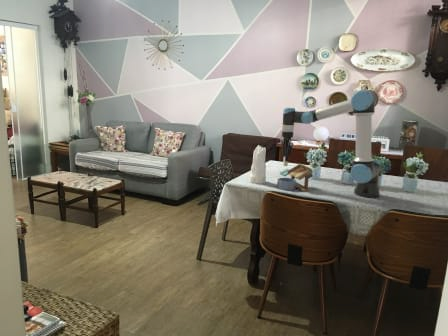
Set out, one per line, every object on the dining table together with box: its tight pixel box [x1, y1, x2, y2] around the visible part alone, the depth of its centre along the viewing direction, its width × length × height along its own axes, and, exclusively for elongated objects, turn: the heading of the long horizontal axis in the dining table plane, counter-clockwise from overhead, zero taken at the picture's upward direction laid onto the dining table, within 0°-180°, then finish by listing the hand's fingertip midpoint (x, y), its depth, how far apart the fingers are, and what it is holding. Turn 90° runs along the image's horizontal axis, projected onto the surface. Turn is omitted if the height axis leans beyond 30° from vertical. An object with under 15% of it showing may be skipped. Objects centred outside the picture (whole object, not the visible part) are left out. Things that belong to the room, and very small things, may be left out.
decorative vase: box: [249, 144, 267, 185], centre depth 247 cm, size 11×11×25 cm
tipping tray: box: [279, 163, 314, 181], centre depth 240 cm, size 23×13×6 cm, turn 17°
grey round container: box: [276, 177, 298, 191], centre depth 236 cm, size 11×11×6 cm
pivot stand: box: [290, 175, 312, 193], centre depth 238 cm, size 20×6×10 cm, turn 17°
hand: (285, 165), depth 246 cm, fingers closed
